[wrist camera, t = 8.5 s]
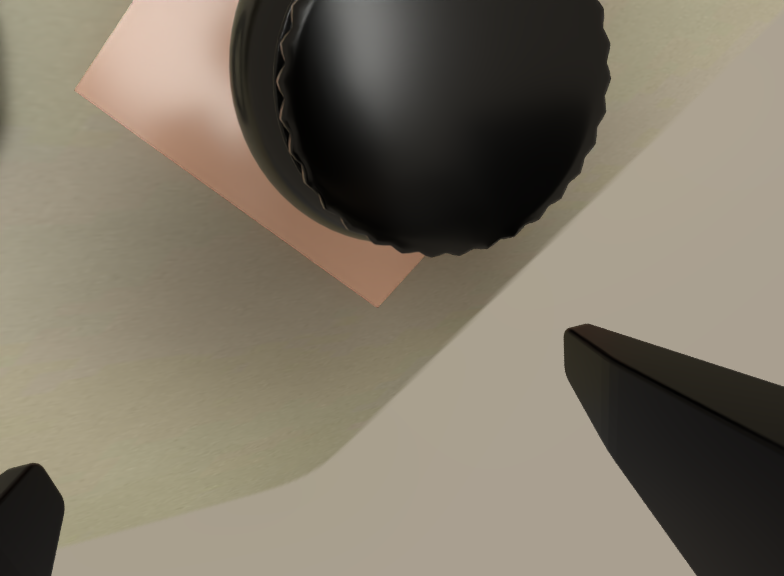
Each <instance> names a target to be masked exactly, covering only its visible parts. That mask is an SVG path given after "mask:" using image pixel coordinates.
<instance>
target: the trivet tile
mask: <svg viewBox="0 0 784 576" xmlns="http://www.w3.org/2000/svg"><path fill="white" fill-rule="evenodd" d="M238 1H239V0H133V2H132V3H131V5H130V6H129V8H128V9H127V11H126V12H125V14H124V15H123V17H122V18H121V20H120V21H119V23H118V24H117V26H116V27H115V29H114V30H113V32H112V33H111V35H110V37H109V38H108V40H107V41H106V43H105V44H104V46H103V47H102V49H101V50H100V52H99V53H98V55H97V56H96V58H95V59H94V61H93V62H92V64H91V65H90V67H89V68H88V70H87V71H86V73H85V74H84V76H83V77H82V79H81V80H80V82H79V83H78V85H77V86H76V88H75V90H74V91H76V92H77V93H78V94H80V95H81V96H83V97H84V98H85V99H87V100H88V101H90V102H91V103H92V104H94V105H95V106H97V107H98V108H99V109H101V110H102V111H104V112H105V113H106V114H108V115H109V116H110V117H112V118H113V119H115V120H116V121H117V122H119V123H120V124H122V125H123V126H124V127H126V128H127V129H129V130H130V131H131V132H133V133H134V134H136V135H137V136H138V137H140V138H141V139H143V140H144V141H145V142H147V143H148V144H149V145H151V146H152V147H154V148H155V149H156V150H158V151H159V152H161V153H162V154H163V155H165V156H166V157H168V158H169V159H170V160H172V161H173V162H175V163H176V164H177V165H179V166H180V167H182V168H183V169H184V170H186V171H187V172H188V173H190V174H191V175H193V176H194V177H195V178H197V179H198V180H200V181H201V182H202V183H204V184H205V185H207V186H208V187H209V188H211V189H212V190H214V191H215V192H216V193H218V194H219V195H221V196H222V197H223V198H225V199H226V200H227V201H229V202H230V203H232V204H233V205H234V206H236V207H237V208H239V209H240V210H241V211H243V212H244V213H246V214H247V215H248V216H250V217H251V218H253V219H254V220H255V221H257V222H258V223H260V224H261V225H262V226H264V227H265V228H266V229H268V230H269V231H271V232H272V233H273V234H275V235H276V236H278V237H279V238H280V239H282V240H283V241H285V242H286V243H287V244H289V245H290V246H292V247H293V248H294V249H296V250H297V251H299V252H300V253H301V254H303V255H304V256H305V257H307V258H308V259H310V260H311V261H312V262H314V263H315V264H317V265H318V266H319V267H321V268H322V269H324V270H325V271H326V272H328V273H329V274H331V275H332V276H333V277H335V278H336V279H338V280H339V281H340V282H342V283H343V284H344V285H346V286H347V287H349V288H350V289H351V290H353V291H354V292H356V293H357V294H358V295H360V296H361V297H363V298H364V299H365V300H367V301H368V302H370V303H371V304H372V305H374V306H375V307H377V308H378V307H379V306H380V305H381V304H382V302H383V301H384V300H385V299H386V298H387V297H388V296H389V295H390V294H391V293H392V291H393V290H394V289H395V288H396V287H397V286H398V285H399V284H400V283H401V282H402V280H403V279H404V278H405V277H406V276H407V275H408V274H409V273H410V272H411V271H412V269H413V268H414V267H415V266H416V265H417V264H418V263H419V262H420V261H421V260H422V258H423V257H424V256H425V255H423V254H422V253H420V252H415V253H406V254H402V253H400V252H399V251H397V250H395V249H394V248H393V247H392V246H382V245H374V244H373V243H372V242H369V241H364V240H359V239H355V238H352V237H348V236H345V235H343V234H340V233H337V232H335V231H332V230H330V229H328V228H326V227H324V226H322V225H320V224H318V223H317V222H315V221H314V220H312V219H310V218H309V217H307V216H306V215H304V214H303V213H302V212H300V211H299V210H298V209H296V208H295V207H294V206H293V205H292V204H290V203H289V202H288V201H287V200H286V199H285V198H284V197H283V196H282V195H281V194H280V193H279V192H278V191H277V190H276V188H275V187H274V186H273V185H272V184H271V183H270V182H269V180H268V179H267V177H266V176H265V175H264V173H263V172H262V171H261V169H260V168H259V166H258V164H257V163H256V161H255V159H254V158H253V156H252V154H251V152H250V150H249V148H248V146H247V144H246V142H245V140H244V137H243V134H242V132H241V129H240V126H239V123H238V120H237V116H236V113H235V109H234V105H233V100H232V94H231V88H230V76H229V47H230V38H231V30H232V25H233V20H234V16H235V11H236V8H237V5H238Z"/></svg>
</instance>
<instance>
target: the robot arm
mask: <svg viewBox="0 0 784 576" xmlns="http://www.w3.org/2000/svg"><path fill="white" fill-rule="evenodd" d="M564 366H565V372H566V376H567V378H568V380H569V382H570V384H571V386H572V388H573V390H574V391H575V393H576V395H577V397H578V399H579V401H580V402H581V404H582V406H583V408H584V409H585V411H586V413H587V415H588V417H589V418H590V420H591V422H592V424H593V426H594V427H595V429H596V431H597V433H598V435H599V436H600V438H601V440H602V442H603V443H604V445H605V447H606V448H607V450H608V452H609V453H610V455H611V456H612V458H613V459H614V461H615V462H616V463H617V465H618V466H619V468H620V469H621V470H622V472H623V473H624V475H625V476H626V477H627V479H628V480H629V482H630V483H631V484H632V486H633V487H634V488H635V490H636V491H637V493H638V494H639V496H640V497H641V498H642V500H643V501H644V503H645V504H646V505H647V507H648V508H649V510H650V511H651V512H652V514H653V515H654V517H655V518H656V519H657V521H658V522H659V524H660V525H661V526H662V528H663V529H664V530H665V532H666V533H667V535H668V536H669V538H670V539H671V540H672V542H673V543H674V545H675V546H676V547H677V549H678V550H679V552H680V553H681V554H682V556H683V557H684V559H685V560H686V561H687V563H688V564H689V566H690V567H691V568H692V570H693V571H694V573H695V574H696V575H697V576H784V386H781V385H777V384H774V383H771V382H768V381H765V380H762V379H759V378H756V377H753V376H750V375H746V374H743V373H740V372H737V371H734V370H731V369H728V368H724V367H722V366H718V365H715V364H712V363H709V362H706V361H703V360H699V359H697V358H694V357H691V356H687V355H684V354H681V353H678V352H675V351H672V350H669V349H666V348H663V347H659V346H656V345H653V344H650V343H647V342H644V341H641V340H638V339H635V338H632V337H628V336H625V335H622V334H619V333H616V332H613V331H610V330H607V329H604V328H600V327H597V326H594V325H591V324H583V325H579V326H575V327H571V328H568V329H567V330H566V331H565V333H564ZM63 516H64V501H63V498H62V495H61V494H60V492H59V491H58V489H57V488H56V486H55V485H54V483H53V481H52V480H51V478H50V477H49V475H48V474H47V472H46V471H45V469H44V468H43V467H42V466H41V465H40V464H38V463H30V464H26V465H22V466H18V467H14V468H10V469H8V470H6V471H5V472H4V473H2V474H1V475H0V576H51V574H52V569H53V564H54V560H55V555H56V550H57V545H58V540H59V536H60V531H61V526H62V521H63Z"/></svg>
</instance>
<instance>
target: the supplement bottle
mask: <svg viewBox="0 0 784 576" xmlns="http://www.w3.org/2000/svg"><path fill="white" fill-rule="evenodd" d="M603 21H604V9H603V7H602V5H601V4H600V2H599V1H598V0H239V1H238V5H237V8H236V11H235V16H234V20H233V25H232V30H231V38H230V47H229V76H230V88H231V94H232V100H233V105H234V109H235V113H236V116H237V120H238V123H239V126H240V129H241V132H242V134H243V137H244V140H245V142H246V144H247V146H248V148H249V150H250V152H251V154H252V156H253V158H254V159H255V161H256V163H257V164H258V166H259V168H260V169H261V171H262V172H263V173H264V175H265V176H266V177H267V179H268V180H269V182H270V183H271V184H272V185H273V186H274V187H275V188H276V190H277V191H278V192H279V193H280V194H281V195H282V196H283V197H284V198H285V199H286V200H287V201H288V202H289V203H290V204H292V205H293V206H294V207H295V208H296V209H298V210H299V211H300V212H302V213H303V214H304V215H306V216H307V217H309V218H310V219H312V220H314V221H315V222H317V223H318V224H320V225H322V226H324V227H326V228H328V229H330V230H332V231H335V232H337V233H340V234H343V235H345V236H348V237H352V238H355V239H359V240H364V241H369V242H372V243H373V244H374V245H382V246H392V247H393V248H394V249H395V250H397V251H399V252H400V253H402V254H406V253H415V252H420V253H422V254H423V255H425V256H428V257H435V256H439V255H441V254H444V253H450V254H452V255H457V256H460V255H462V254H465V253H467V252H468V251H470V250H472V249H488V248H489V247H491V246H492V245H494V244H495V243H496V242H497V241H499V240H500V239H506V238H511V237H515V236H516V235H517V234H518V233H519V232H520V231H521V229H522V228H523V227H524V226H525V225H527V224H529V223H533V222H535V221H537V220H539V219H540V218H541V216H542V215H543V214H544V212H545V211H546V209H547V207H548V206H550V205H551V204H553V203H555V202H557V201H558V200H560V199H561V198H562V196H563V194H564V192H565V190H566V188H567V185H568V183H569V182H571V181H572V180H573V179H575V178H576V177H577V176H578V175H579V174H580V173H581V169H582V166H583V162H584V158H585V156H586V155H587V154H588V153H589V152H590V151H591V149H592V148H593V147H594V145H595V143H596V136H597V127H598V125H599V123H600V122H601V120H602V119H603V117H604V115H605V113H606V103H605V94H606V91H607V89H608V86H609V83H610V80H611V76H610V71H609V68H608V65H607V58H608V54H609V50H610V41H609V39H608V37H607V35H606V33H605V31H604V29H603Z"/></svg>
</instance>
